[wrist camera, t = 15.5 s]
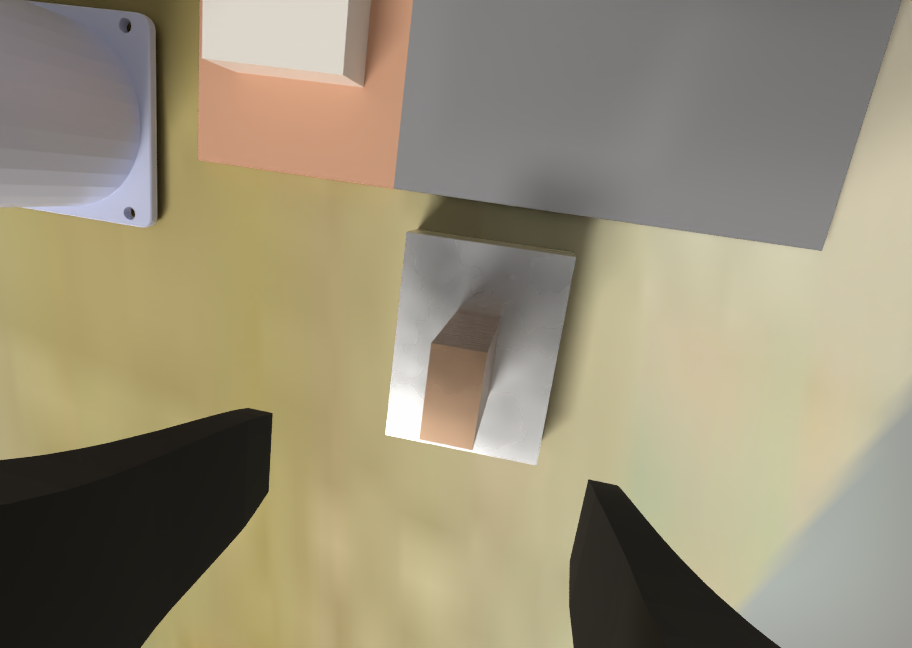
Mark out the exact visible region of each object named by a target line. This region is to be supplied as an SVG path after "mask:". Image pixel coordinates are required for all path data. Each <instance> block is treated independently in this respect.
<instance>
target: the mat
mask: <svg viewBox="0 0 912 648" xmlns="http://www.w3.org/2000/svg"><path fill="white" fill-rule="evenodd" d="M901 1H902V0H371V8H370V19H369V31H368V43H367V55H366V66H365V78H364V87H356V86H347V85H339V84H331V83H322V82H314V81H306V80H298V79H289V78H281V77H273V76H264V75H256V74H248V73H239V72H235V71H232V70H230V69H227V68H225V67H222V66H220V65H217V64H215V63H212V62H210V61H207V60H205V59H202V6H203V0H200V20H199V125H198V160H201V161H208V162H215V163H221V164H228V165H235V166H242V167H249V168H256V169H263V170H270V171H276V172H283V173H290V174H297V175H304V176H311V177H318V178H325V179H331V180H338V181H345V182H352V183H359V184H366V185H373V186H380V187H386V188H393V189H400V190H407V191H414V192H421V193H428V194H435V195H441V196H448V197H455V198H462V199H469V200H476V201H483V202H490V203H496V204H503V205H510V206H517V207H524V208H531V209H538V210H545V211H551V212H558V213H565V214H572V215H579V216H586V217H593V218H600V219H606V220H613V221H620V222H627V223H634V224H641V225H648V226H654V227H661V228H668V229H675V230H682V231H689V232H696V233H703V234H709V235H716V236H723V237H730V238H737V239H744V240H751V241H758V242H764V243H771V244H778V245H785V246H792V247H799V248H806V249H813V250H819V251H822V249H823V246H824V243H825V240H826V237H827V233H828V230H829V227H830V224H831V221H832V218H833V215H834V211H835V208H836V205H837V202H838V199H839V196H840V192H841V189H842V186H843V183H844V180H845V177H846V174H847V170H848V167H849V164H850V161H851V158H852V155H853V152H854V148H855V145H856V142H857V139H858V136H859V133H860V130H861V126H862V123H863V120H864V117H865V114H866V111H867V108H868V104H869V101H870V98H871V95H872V92H873V89H874V85H875V82H876V79H877V76H878V73H879V70H880V67H881V63H882V60H883V57H884V54H885V51H886V48H887V45H888V41H889V38H890V35H891V32H892V29H893V26H894V23H895V19H896V16H897V13H898V10H899V7H900V4H901Z"/></svg>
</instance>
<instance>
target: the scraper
mask: <svg viewBox="0 0 912 648" xmlns="http://www.w3.org/2000/svg"><path fill="white" fill-rule="evenodd" d="M575 261H576V256H575V254H574V252H570V251H563V250H556V249H549V248H543V247H536V246H529V245H522V244H516V243H509V242H502V241H495V240H489V239H482V238H475V237H468V236H462V235H455V234H448V233H441V232H435V231H428V230H421V229H416V230H412V231H408V232H407V233H406V242H405V252H404V261H403V271H402V281H401V290H400V300H399V309H398V319H397V328H396V338H395V347H394V357H393V366H392V376H391V385H390V395H389V405H388V414H387V424H386V433H385V435H389V436H394V437H399V438H404V439H409V440H414V441H419V442H424V443H429V444H433V445H438V446H443V447H448V448H453V449H458V450H463V451H468V452H473V453H478V454H483V455H487V456H492V457H497V458H502V459H507V460H512V461H517V462H522V463H527V464H532V465H537V460H538V455H539V450H540V445H541V439H542V434H543V429H544V424H545V418H546V413H547V408H548V403H549V397H550V392H551V387H552V382H553V376H554V371H555V366H556V361H557V355H558V350H559V345H560V340H561V334H562V329H563V324H564V319H565V313H566V308H567V303H568V298H569V292H570V287H571V282H572V277H573V271H574V266H575Z"/></svg>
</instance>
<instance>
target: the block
mask: <svg viewBox="0 0 912 648" xmlns="http://www.w3.org/2000/svg"><path fill="white" fill-rule="evenodd" d="M370 8H371V0H203V6H202V59H205V60H207V61H210V62H212V63H215V64H217V65H220V66H222V67H225V68H227V69H230V70H232V71H235V72H239V73H248V74H256V75H264V76H273V77H281V78H289V79H298V80H306V81H314V82H322V83H331V84H339V85H347V86H356V87H364V78H365V66H366V55H367V43H368V31H369V19H370Z"/></svg>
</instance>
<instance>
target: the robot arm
mask: <svg viewBox="0 0 912 648" xmlns="http://www.w3.org/2000/svg"><path fill="white" fill-rule="evenodd" d="M129 22H131V30H130V31H129V33H128V31H127V25H128V23H129ZM0 207H22V208H28V209H34V210H40V211H46V212H52V213H58V214H64V215H71V216H77V217H83V218H89V219H95V220H101V221H107V222H113V223H119V224H125V225H131V226H137V227H151V226H153V225H154V224H155V223H156V221H157V119H156V30H155V25H154V23H153V21H152V20H151V19H150V18H149V17H148V16H145V15H143V14H141V13H138V12H128V11H119V10H110V9H100V8H91V7H82V6H72V5H63V4H54V3H44V2H35V1H26V0H0ZM132 208H133V210H134V211H135V218H133V216H132V214H131V210H132ZM271 433H272V413H269V412H264V411H260V410H255V409H250V408H245V409H239V410H234V411H229V412H225V413H221V414H217V415H213V416H209V417H206V418H202V419H199V420H195V421H191V422H188V423H184V424H181V425H177V426H173V427H170V428H166V429H162V430H159V431H155V432H151V433H147V434H143V435H139V436H135V437H131V438H126V439H122V440H118V441H114V442H110V443H106V444H101V445H96V446H91V447H86V448H81V449H76V450H70V451H64V452H59V453H53V454H47V455H40V456H33V457H24V458H16V459H7V460H0V648H141V646H142V645H143V644H144V642H145V641H146V640H147V638H148V637H149V636H150V634H151V633H152V632H153V630H154V629H155V628H156V626H157V625H158V624H159V623H160V622H161V620H162V619H163V618H164V617H165V616H166V614H167V613H168V612H169V611H170V610H171V609H172V607H173V606H174V605H175V604H176V603H177V602H178V601H179V600H180V599H181V597H182V596H183V595H184V594H185V593H186V592H187V591H188V590H189V589H190V588H191V586H192V585H193V584H194V583H195V582H196V581H197V580H198V579H199V578H200V577H201V575H202V574H203V573H204V572H205V571H206V570H207V569H208V568H209V567H210V565H211V564H212V563H213V562H214V561H215V560H216V559H217V558H218V557H219V556H220V554H221V553H222V552H223V551H224V550H225V549H226V548H227V547H228V545H229V544H230V543H231V542H232V541H233V540H234V539H235V538H236V536H237V535H238V534H239V533H240V532H241V531H242V529H243V528H244V527H245V526H246V524H247V523H248V521H249V520H250V519H251V517H252V516H253V514H254V513H255V511H256V510H257V508H258V507H259V505H260V504H261V502H262V501H263V499H264V498H265V496H266V495H267V493H268V492H269V472H270V453H271ZM569 608H570V618H571V627H572V636H573V645H574V648H781V647H779V646H778V645H777V644H775V643H774V642H773V641H771V640H770V639H769V638H767V637H766V636H765V635H764V634H762V633H761V632H760V631H759V630H757V629H756V628H755V627H754V626H752V625H751V624H750V623H749V622H748V621H746V620H745V619H744V618H743V617H742V616H741V615H740V614H738V613H737V612H736V611H735V610H734V609H733V608H732V607H730V606H729V605H728V604H727V603H726V602H725V601H724V600H722V599H721V598H720V597H719V596H718V595H717V594H716V593H715V592H714V591H713V590H712V589H711V588H709V587H708V586H707V585H706V584H705V583H704V582H703V581H702V580H701V579H700V578H699V577H698V576H697V575H696V574H695V573H694V572H693V571H692V570H691V569H690V568H689V567H688V566H687V565H686V564H685V562H684V561H683V560H682V559H681V558H680V557H679V556H678V555H677V554H676V553H675V552H674V551H673V550H672V549H671V547H670V546H669V545H668V544H667V543H666V542H665V541H664V540H663V538H662V537H661V536H660V535H659V534H658V533H657V532H656V530H655V529H654V528H653V527H652V526H651V525H650V523H649V522H648V521H647V520H646V519H645V517H644V516H643V515H642V514H641V513H640V511H639V510H638V509H637V508H636V506H635V505H634V504H633V503H632V502H631V500H630V499H629V498H628V497H627V495H626V494H625V493H624V492H623V491H622V490H621V489H620V487H619V486H617V485H612V484H608V483H603V482H598V481H593V480H588V484H587V488H586V493H585V497H584V501H583V506H582V510H581V514H580V519H579V523H578V528H577V532H576V536H575V541H574V545H573V549H572V554H571V558H570V580H569Z"/></svg>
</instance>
